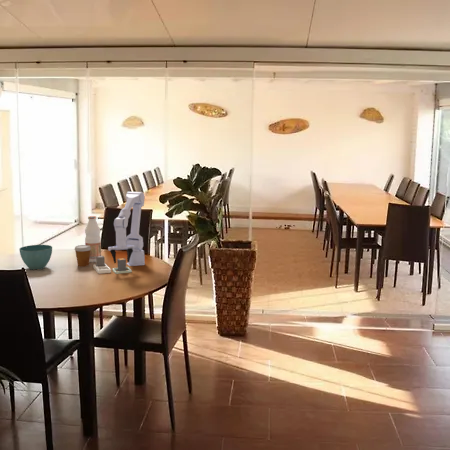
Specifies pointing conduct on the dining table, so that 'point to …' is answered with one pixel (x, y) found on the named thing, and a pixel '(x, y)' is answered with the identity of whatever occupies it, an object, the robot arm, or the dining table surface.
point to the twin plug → (100, 261)
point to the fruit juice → (93, 238)
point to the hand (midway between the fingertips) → (121, 262)
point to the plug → (121, 264)
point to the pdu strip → (102, 269)
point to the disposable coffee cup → (82, 255)
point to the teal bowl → (36, 255)
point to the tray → (121, 271)
